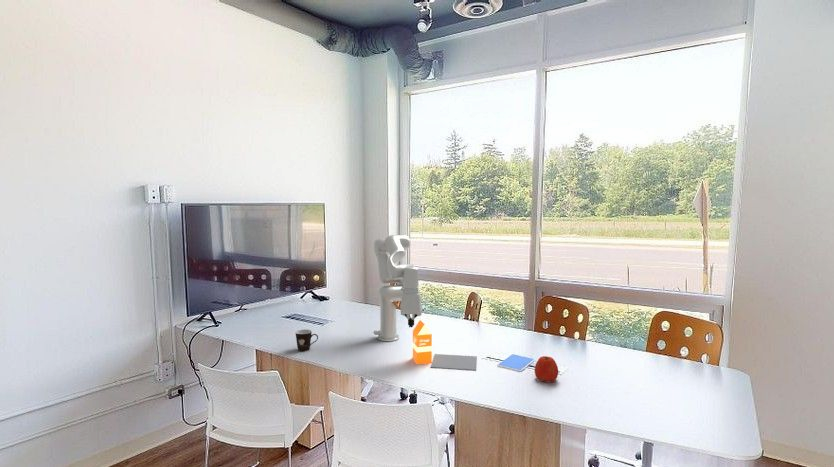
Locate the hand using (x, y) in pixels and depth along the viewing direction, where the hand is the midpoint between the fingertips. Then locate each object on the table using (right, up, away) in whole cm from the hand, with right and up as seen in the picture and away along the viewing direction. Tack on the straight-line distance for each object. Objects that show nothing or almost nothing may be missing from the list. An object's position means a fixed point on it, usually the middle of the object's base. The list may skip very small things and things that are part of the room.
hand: (411, 326), depth 208 cm
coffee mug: (-58, -17, +15) cm, 62 cm away
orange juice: (+6, -18, 0) cm, 18 cm away
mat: (+22, -17, -2) cm, 28 cm away
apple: (+62, -19, -23) cm, 68 cm away
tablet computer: (+53, -18, -3) cm, 56 cm away
